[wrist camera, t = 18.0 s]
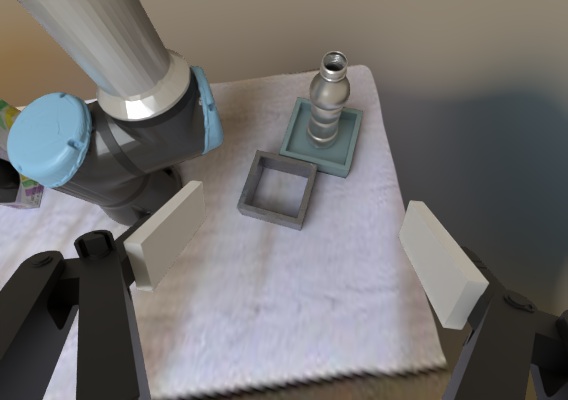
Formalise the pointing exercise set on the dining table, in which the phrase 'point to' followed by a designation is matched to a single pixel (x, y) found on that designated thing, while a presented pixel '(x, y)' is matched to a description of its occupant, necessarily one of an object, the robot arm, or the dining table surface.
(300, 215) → the holder sleeve
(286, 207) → the dining table surface
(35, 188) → the purple product box
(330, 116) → the metal bottle
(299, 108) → the tray
